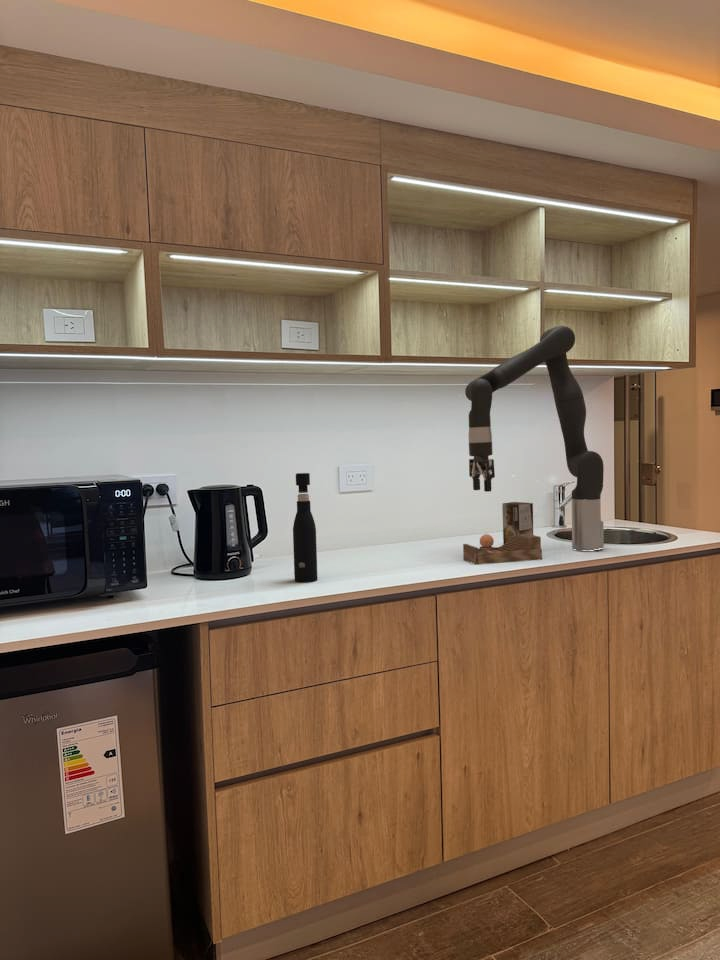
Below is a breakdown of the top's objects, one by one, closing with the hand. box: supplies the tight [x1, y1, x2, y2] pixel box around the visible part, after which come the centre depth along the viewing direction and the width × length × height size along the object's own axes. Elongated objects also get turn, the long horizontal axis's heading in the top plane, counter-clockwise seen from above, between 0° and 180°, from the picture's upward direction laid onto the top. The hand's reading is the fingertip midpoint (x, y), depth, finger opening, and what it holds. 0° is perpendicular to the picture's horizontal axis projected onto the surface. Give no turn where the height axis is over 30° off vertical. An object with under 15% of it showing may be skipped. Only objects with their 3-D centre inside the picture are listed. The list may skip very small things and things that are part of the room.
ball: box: [479, 533, 495, 548], centre depth 224 cm, size 5×5×5 cm
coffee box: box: [501, 501, 534, 545], centre depth 232 cm, size 9×6×16 cm
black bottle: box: [292, 472, 319, 584], centre depth 188 cm, size 6×6×30 cm
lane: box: [462, 534, 543, 565], centre depth 213 cm, size 22×9×7 cm, turn 104°
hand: (482, 490), depth 221 cm, fingers open, 8 cm apart
